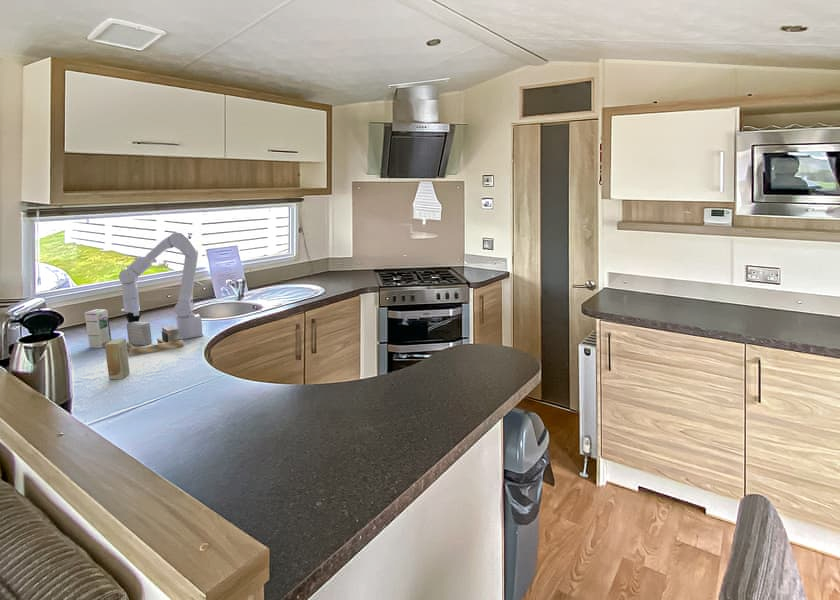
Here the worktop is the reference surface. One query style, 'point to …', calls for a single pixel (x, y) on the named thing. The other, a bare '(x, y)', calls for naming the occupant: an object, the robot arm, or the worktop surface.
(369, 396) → the worktop surface
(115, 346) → the skincare box
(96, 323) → the syrup box
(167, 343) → the wooden rack
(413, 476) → the worktop surface
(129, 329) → the medicine box
